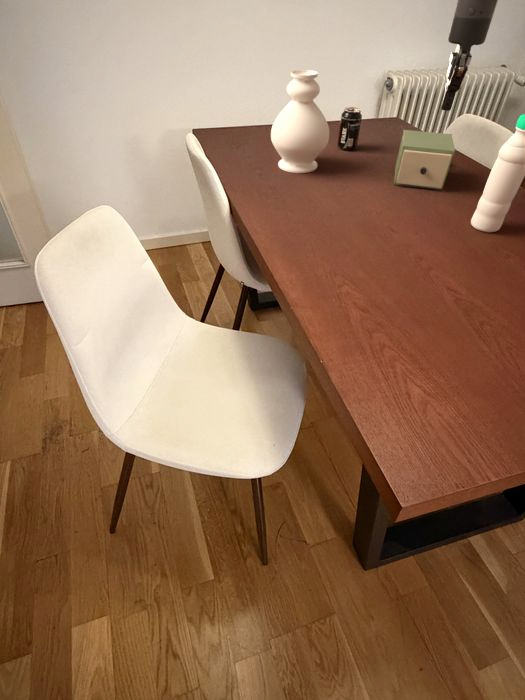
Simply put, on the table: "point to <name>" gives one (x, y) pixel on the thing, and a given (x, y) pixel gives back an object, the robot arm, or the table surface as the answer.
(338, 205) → the table surface
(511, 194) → the water bottle
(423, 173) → the drawer
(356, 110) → the beverage can
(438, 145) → the cabinet
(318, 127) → the decorative vase
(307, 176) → the table surface
